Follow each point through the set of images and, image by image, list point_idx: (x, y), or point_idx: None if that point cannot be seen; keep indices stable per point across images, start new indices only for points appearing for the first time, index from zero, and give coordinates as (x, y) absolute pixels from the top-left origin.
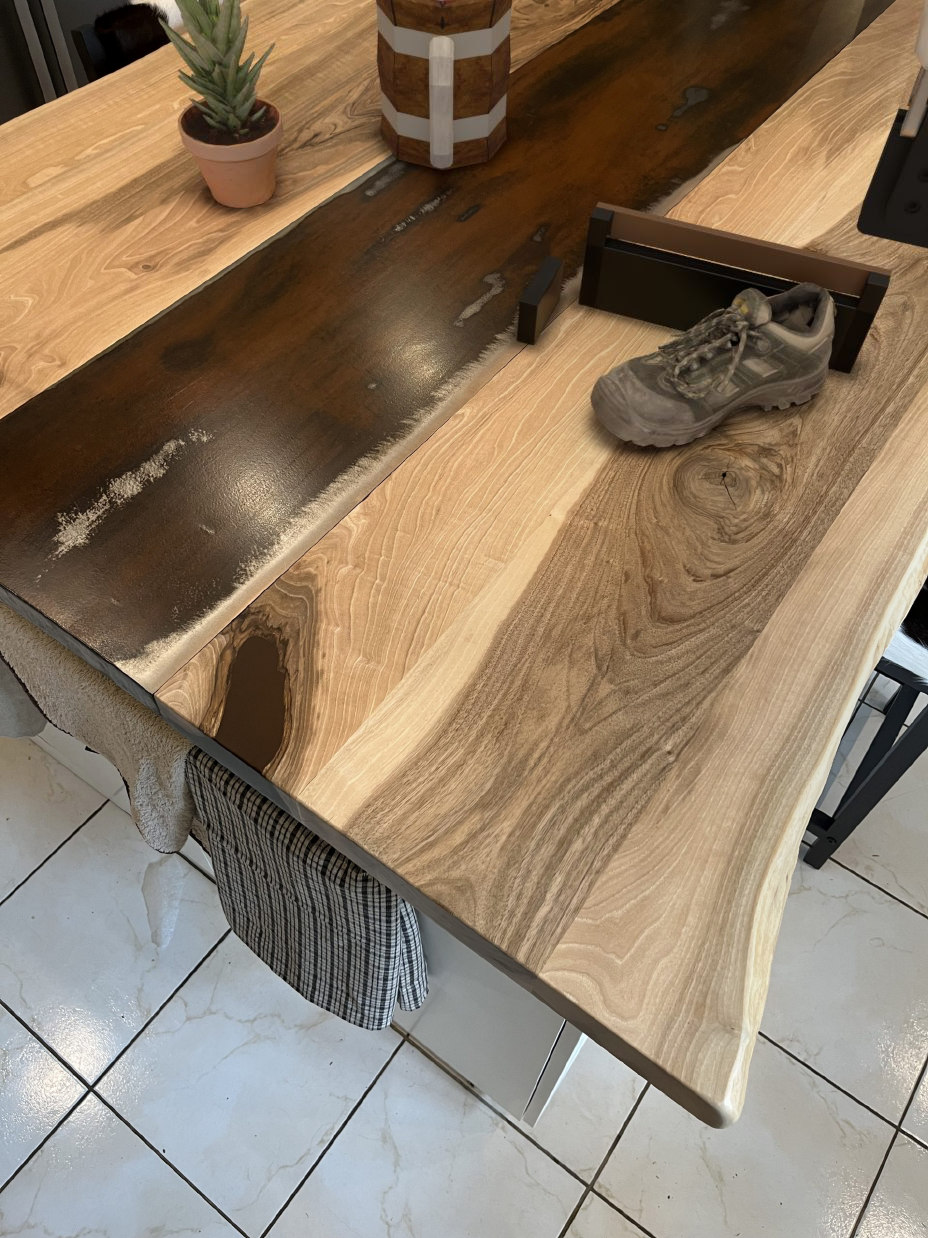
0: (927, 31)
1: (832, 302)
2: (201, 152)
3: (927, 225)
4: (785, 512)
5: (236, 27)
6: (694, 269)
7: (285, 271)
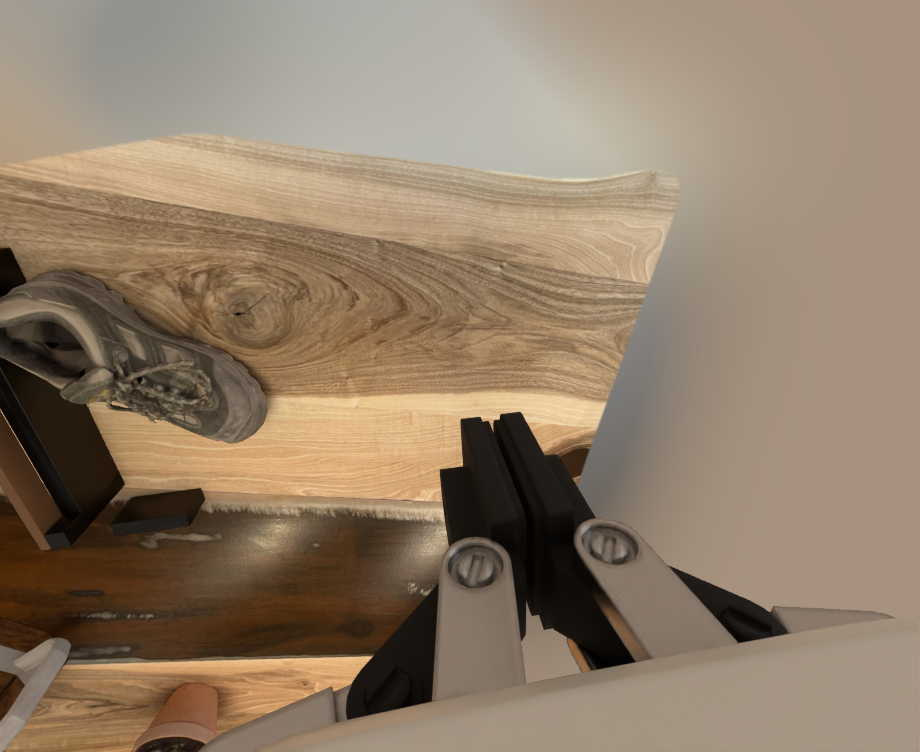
0: None
1: None
2: None
3: (556, 455)
4: (245, 255)
5: None
6: (41, 440)
7: (251, 636)
